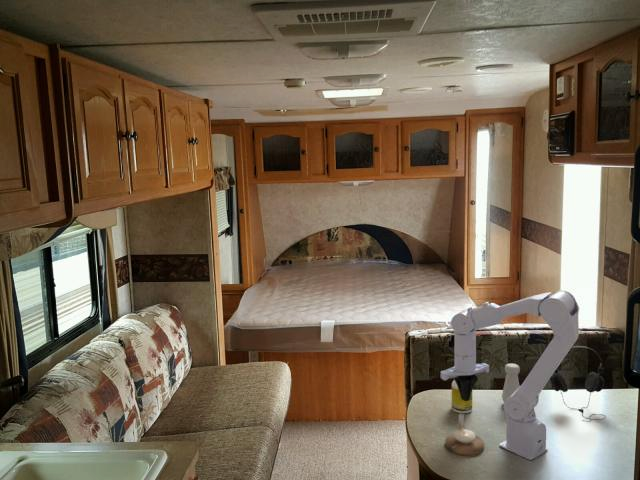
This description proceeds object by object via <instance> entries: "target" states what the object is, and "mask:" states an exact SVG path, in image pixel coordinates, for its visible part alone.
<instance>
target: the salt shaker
mask: <svg viewBox="0 0 640 480" xmlns="http://www.w3.org/2000/svg"><path fill="white" fill-rule="evenodd" d="M520 369H521V367H520V366H519V365H518V364H516V363H513V362H512V363H507V364H505V366H504V371H505V373H506V376H505V380H504V385H503V389H502V393H501V398H502V400H503V403H504V402H505V400H506V399H507V398H509V397H510V396H511V395H512V394H513V393H514V392H515V390H516V389H517V388H518V387H519V386H520V382H519V381H520V380H519V374H520V371H521V370H520Z"/></svg>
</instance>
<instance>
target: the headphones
mask: <svg viewBox="0 0 640 480" xmlns="http://www.w3.org/2000/svg"><path fill="white" fill-rule="evenodd" d="M573 349H585V350H589V351H592V352H594V353H595V354H596V355H597V356H598V358H599V360H600V361H599V366H598V367H597V369H596V370H597V372H595V371H591V372H589V373H588V374H587V376H586V378H585V381H584V388H585V390H586V392H589V393H590V394H589V398H588V401H590V397H591V395H592V393H595V392H596V393H599V392H601V391H602V390H603V388H604V386H605V379H604V377H603V376H601V375H602V374H604V371H605V368H604V367H603V359H602V357H601V356H600V355H599V353H598V352H597V351H595V349H593V348H591V347H589V346H585V345H573V346H572V347H571V349H570V350H573ZM600 374H601V375H600ZM549 381H550V383H551V386H552V388H553V390H554V391H555V392H559V391H560V393H561V396H562V401H563V403H564V405H565V406H566V407H567V408H569V409H571V410H572V409H574V410H576V408H573V407H569V406H567V404H566V403H565V401H564V396H563V393H566V392H568V390H569V388H568V384H567V382H566V379H565V377H564V375H563V373H562V372H560V371H558V368H557V369H556V370H555V372H554V373H553V375H552V376H551V377H550V379H549ZM562 392H563V393H562ZM589 405H590V402H588V404H587V406H586V407H584V406H582V407H581V409H579V408H577V410H578V411H580V412H581V413H582V417H583V418H585V416H584V415H583V414H584V409H587V408H588V407H589ZM583 408H584V409H583ZM595 415H596V413H593V414H591V415H589V417H586V419H587V422H591V421H592V418H591V417H592V416H595ZM600 415H601V416H604V418H599V419H597V418H593V420H595V421H596V420H599V421H602V420H605V417H606V415H605V414H602V413H600ZM582 422H585V420H583V419H582Z"/></svg>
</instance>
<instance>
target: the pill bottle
mask: <svg viewBox="0 0 640 480" xmlns="http://www.w3.org/2000/svg"><path fill="white" fill-rule="evenodd" d="M451 410H452V411H454V412H455V413H457V414H464V415H465V414H469V413H471V412H472V411H473V391H472V392H471V395H470V399H469V401H464V400H462V399H461V396H460V392H459V389H458V386H457V384H456V382H455V380H454V379H453V381H452V382H451Z"/></svg>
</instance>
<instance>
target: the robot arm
mask: <svg viewBox="0 0 640 480" xmlns="http://www.w3.org/2000/svg"><path fill="white" fill-rule="evenodd" d="M528 313H530V314H532V315H533V316H535V317H536V318H540V317H541V318H542V319H543V320H544V321H545V323H546V324H547V325H548V326H549V328H550V329H551V331H552V333H553V338H552V339H551V341H549V344H548V345H547V346H546V348H545V349H544V351H543V352H542V354H541V355H540V357H539V359H538V360H537V361H536V362H535V364H534V366H533V367H532V369H531V370H530V371H529V373H528V375H527V376H526V378H525V379H524V381H523V382H522V384H521V385H519V387H518V388H517V389H516V390H515V392H514V393H513V394H512V395H511V396H510V397H509V398H507V399H506V400H505V402H504V401H503V410H504V413H505V415H506V426H505V427H506V428H505V429H506V434H505V435H506V436H505V439H506V440H503V442H500V443H499V447H500V448H503V449H505V450H507V451H509V452H512V453H514V454H516V455H518V456H520V457H522V458H525V459H527V460H530V461H532V460H534V459H536V458H537V457H539V456H540V455H542V454H543V453H545V452H547V451H548V447H547V427H546V424H545V423H544V422H541V420H539V419H538V418H537V415H536V411H535V407H536V406H537V405H538V404H539V397H540V394H541V392H542V390H543V389H544V387H545V386H546V385H547V383H548V381H550V377H551V376H552V375H553V374H555V373H554V372H555V370H556V369H558V367H559V366H560V364H561V363H562V362H563V360H564V359H565V357H566V356H567V355H568V353H569V351H571V350H572V349H571V347H572V346H574V344H575V343H576V341H577V340H578V339H579V336H580V331H579V327H580V326H579V313H580V307H579V304H578V302H577V300H576V298H575V296H574V295H573V294H572V293H571V292H569V291H566V290H563V289H561V290H557V291H554V292H544V293H540V294H535V295H531V296H528V297H525V298H522V299H519V300H516V301H513V302H509V303H505V304H502V305H499V304H497V303H495V302H491V303H489V301H487V302H483V303H482V305H480V306H478V307H471V306H470V307H468V308H466V309H463V310H461V311H459V312H458V313H456V314H455V315H454V316H453V317H451V320H450V325H451V328H452V330H453V331H454V337H453V338H454V364H453V365H454V366H452V367H449V368H447V369H445V370H441V371H440V379H441V380H443V381H447V380H448V379H453V381H454V380H455V382H456V384H457V386H458V389H459V392H460V396H461V399H462V400H464V401H469V399H470V395H471V392H472V393H473V388H474V387H475V386H476V384H477V382H478V380H479V379H478V378H479V377H478V376H477V375H476V374H480V373H484V372H485V373H489V372H490V365H489V364H488V363H485V362H483V363H477V362H476V361H477V360H476V359H477V351H476V350H477V343H476V342H477V337H476V335H477V333H476V331H477V330H481V329H485V328H489V327H492V326H493V327H494V326H496V325H501V323H502V322H503V319H504V318H510V317H515V316H519V315H525V314H528Z"/></svg>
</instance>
